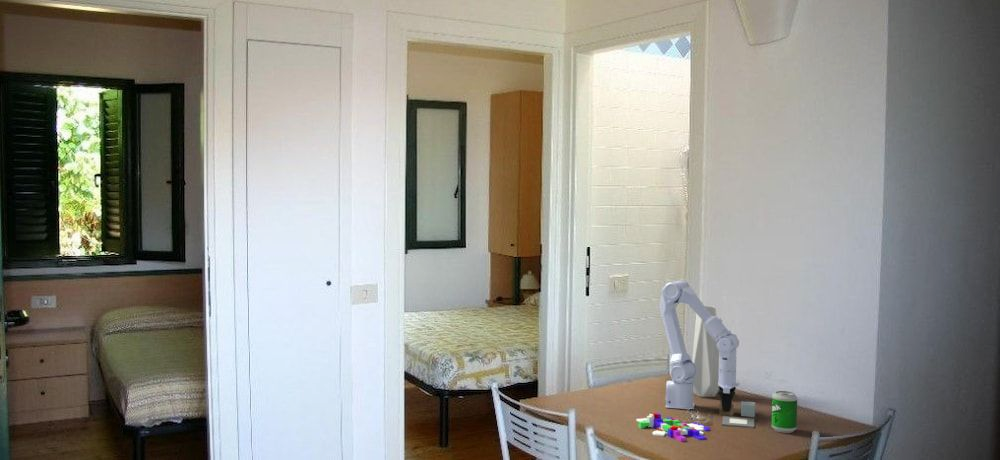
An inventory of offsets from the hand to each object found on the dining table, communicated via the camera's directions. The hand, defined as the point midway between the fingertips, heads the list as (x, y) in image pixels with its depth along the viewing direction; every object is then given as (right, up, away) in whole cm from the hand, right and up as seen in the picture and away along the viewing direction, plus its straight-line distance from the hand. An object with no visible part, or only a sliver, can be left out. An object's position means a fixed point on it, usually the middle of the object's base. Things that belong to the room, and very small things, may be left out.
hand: (726, 409), depth 290 cm
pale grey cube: (+7, -2, -1) cm, 7 cm away
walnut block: (0, -2, 0) cm, 2 cm away
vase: (-1, 0, +26) cm, 26 cm away
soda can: (+13, -3, -19) cm, 23 cm away
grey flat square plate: (+1, -2, -11) cm, 11 cm away
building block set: (-21, -3, -19) cm, 28 cm away
